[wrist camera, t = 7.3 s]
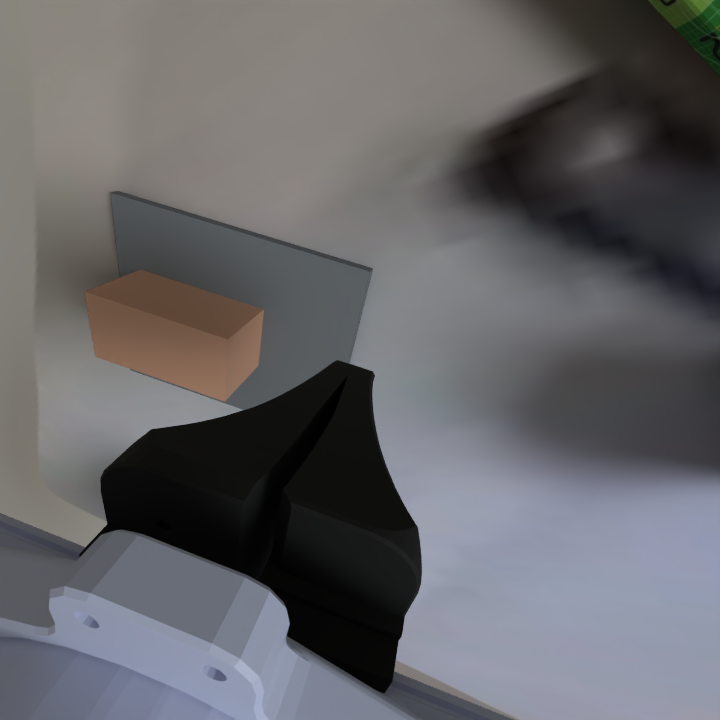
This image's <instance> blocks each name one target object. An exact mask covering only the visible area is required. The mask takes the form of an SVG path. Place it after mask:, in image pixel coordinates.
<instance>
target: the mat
mask: <svg viewBox="0 0 720 720" xmlns="http://www.w3.org/2000/svg"><path fill="white" fill-rule="evenodd" d="M110 194H111V203H112V212H113V221H114V230H115V239H116V248H117V257H118V265H119V274H120V277H123V276H125V275H128V274H130V273H133V272H135V271H138V270H143V271H146V272H150V273H153V274H156V275H159V276H162V277H165V278H168V279H171V280H174V281H177V282H181V283H184V284H187V285H190V286H193V287H196V288H199V289H202V290H205V291H208V292H212V293H215V294H218V295H221V296H224V297H227V298H230V299H233V300H236V301H239V302H243V303H246V304H249V305H252V306H255V307H258V308H261V309H264V314H263V324H262V334H261V345H260V355H259V365H258V367H257V368H256V369H255V370H254V371H253V372H252V373H251V374H250V375H249V376H248V377H247V378H246V380H245V381H244V382H243V383H242V384H241V385H240V386H239V387H238V388H237V389H236V390H235V391H234V392H233V393H232V394H231V396H230V397H229V398H228V399H227V400H226V401H225V402H224V401H221V400H219V399H216V398H213V397H210V396H207V395H204V394H201V393H199V392H196V391H193V390H190V389H187V388H184V387H181V386H179V385H176V384H173V383H170V382H167V381H164V380H161V379H159V378H156V377H153V376H150V375H147V374H144V373H141V372H139V371H136V370H133V369H130V370H132V371H135V372H137V373H140V374H143V375H146V376H149V377H152V378H155V379H157V380H160V381H163V382H166V383H169V384H172V385H175V386H177V387H180V388H183V389H186V390H189V391H192V392H195V393H197V394H200V395H203V396H206V397H209V398H212V399H215V400H217V401H220V402H223V403H226V404H229V405H232V406H235V407H237V408H240V409H243V410H246V409H249V408H252V407H255V406H257V405H260V404H262V403H265V402H267V401H269V400H271V399H273V398H276V397H278V396H280V395H281V394H283V393H285V392H287V391H289V390H291V389H293V388H295V387H296V386H298V385H300V384H301V383H303V382H305V381H306V380H308V379H309V378H311V377H313V376H314V375H316V374H317V373H319V372H320V371H321V370H323V369H324V368H326V367H327V366H328V365H330V364H331V363H332V362H334V361H336V360H339V361H342V362H345V363H350V359H351V355H352V351H353V347H354V343H355V339H356V335H357V331H358V327H359V323H360V319H361V315H362V310H363V306H364V302H365V298H366V294H367V290H368V286H369V282H370V278H371V274H372V270H373V269H372V268H369V267H366V266H362V265H359V264H356V263H353V262H349V261H346V260H343V259H339V258H336V257H333V256H330V255H326V254H323V253H320V252H316V251H313V250H310V249H306V248H303V247H300V246H297V245H293V244H290V243H287V242H283V241H280V240H277V239H274V238H270V237H267V236H264V235H260V234H257V233H254V232H251V231H247V230H244V229H241V228H237V227H234V226H231V225H227V224H224V223H221V222H218V221H214V220H211V219H208V218H204V217H201V216H198V215H195V214H191V213H188V212H185V211H181V210H178V209H175V208H172V207H168V206H165V205H162V204H158V203H155V202H152V201H149V200H145V199H142V198H139V197H135V196H132V195H129V194H125V193H122V192H119V191H118V192H112V193H110Z"/></svg>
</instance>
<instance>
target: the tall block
mask: <svg viewBox="0 0 720 720" xmlns="http://www.w3.org/2000/svg"><path fill="white" fill-rule="evenodd" d="M85 298H86V304H87V310H88V316H89V322H90V328H91V334H92V340H93V346H94V352H95V356H96V357H99V358H101V359H104V360H107V361H110V362H113V363H116V364H119V365H121V366H124V367H127V368H130V369H133V370H136V371H139V372H141V373H144V374H147V375H150V376H153V377H156V378H159V379H161V380H164V381H167V382H170V383H173V384H176V385H179V386H181V387H184V388H187V389H190V390H193V391H196V392H199V393H201V394H204V395H207V396H210V397H213V398H216V399H219V400H221V401H224V402H225V401H226V400H227V399H228V398H229V397H230V396H231V394H232V393H233V392H234V391H235V390H236V389H237V388H238V387H239V386H240V385H241V384H242V383H243V382H244V381H245V380H246V378H247V377H248V376H249V375H250V374H251V373H252V372H253V371H254V370H255V369H256V368H257V367H258V365H259V355H260V345H261V334H262V324H263V314H264V309H261V308H258V307H255V306H252V305H249V304H246V303H243V302H239V301H236V300H233V299H230V298H227V297H224V296H221V295H218V294H215V293H212V292H208V291H205V290H202V289H199V288H196V287H193V286H190V285H187V284H184V283H181V282H177V281H174V280H171V279H168V278H165V277H162V276H159V275H156V274H153V273H150V272H146V271H143V270H138V271H135V272H133V273H130V274H128V275H125V276H123V277H120V278H118V279H115V280H113V281H110V282H108V283H105V284H103V285H100V286H97V287H95V288H92V289H90V290H87V291H85Z"/></svg>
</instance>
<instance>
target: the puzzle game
mask: <svg viewBox="0 0 720 720" xmlns="http://www.w3.org/2000/svg"><path fill="white" fill-rule="evenodd" d="M648 1H649V2H650V3H651V4H652V5H653V6H654V7H655V8H656V10H657V11H658V12H659V13H660V14H661V15H662V16H663V17H664V18H665V19H666V20H667V21H668V22H669V23H670V24H671V25H672V26H673V27H674V29H675V30H676V31H677V32H678V33H679V34H680V35H681V36H682V37H683V38H684V39H685V40H686V41H687V42H688V43H689V44H690V45H691V46H692V47H693V49H694V50H695V51H696V52H697V53H698V54H699V55H700V56H701V57H702V58H703V59H704V60H705V61H706V62H707V63H708V64H709V65H710V66H711V67H712V69H713V70H714V71H715V72H716V73H717V74H718V75H719V76H720V0H648Z"/></svg>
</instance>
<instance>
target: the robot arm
mask: <svg viewBox="0 0 720 720" xmlns="http://www.w3.org/2000/svg"><path fill="white" fill-rule="evenodd" d="M374 377H375V375H374V373H373V371H370V370H367V369H364V368H361V367H358V366H355V365H352V364H349V363H345V362H342V361H339V360H336V361H334V362H332V363H331V364H330V365H328V366H327V367H326V368H324V369H323V370H321V371H320V372H319V373H317V374H316V375H314V376H313V377H311V378H309V379H308V380H306V381H305V382H303V383H301V384H300V385H298V386H296V387H295V388H293V389H291V390H289V391H287V392H285V393H283V394H281V395H280V396H278V397H276V398H273V399H271V400H269V401H267V402H265V403H262V404H260V405H257V406H255V407H252V408H249V409H246V410H243V411H240V412H237V413H233V414H230V415H227V416H223V417H219V418H215V419H211V420H207V421H202V422H197V423H192V424H186V425H179V426H172V427H165V428H158V429H151V430H150V431H149V432H148V433H146V434H145V435H144V436H142V437H141V438H140V439H138V440H137V441H136V442H135V443H134V444H133V445H131V446H130V447H129V448H128V449H127V450H126V451H125V452H124V453H123V454H121V455H120V456H119V457H118V458H117V459H116V460H115V461H114V462H113V463H112V464H111V465H109V466H108V467H107V468H106V469H105V470H104V472H103V474H102V476H101V494H102V499H103V504H104V509H105V514H106V519H107V525H106V527H104V528H103V530H102V531H101V532H100V533H99V534H98V535H97V536H96V537H95V538H94V539H93V540H92V541H91V542H90V543H89V544H88V545H87V547H83V546H81V545H78V544H76V543H73V542H70V541H68V540H66V539H63V538H61V537H58V536H56V535H53V534H51V533H48V532H46V531H43V530H41V529H38V528H36V527H33V526H31V525H28V524H26V523H23V522H21V521H18V520H16V519H14V518H11V517H8V516H6V515H3V514H1V513H0V720H514V719H511V718H508V717H506V716H504V715H501V714H499V713H496V712H493V711H491V710H489V709H486V708H484V707H481V706H479V705H476V704H474V703H471V702H469V701H466V700H464V699H461V698H459V697H456V696H454V695H451V694H449V693H446V692H444V691H441V690H439V689H436V688H434V687H431V686H429V685H426V684H424V683H422V682H419V681H417V680H414V679H411V678H409V677H406V676H404V675H402V674H399V673H397V672H394V668H395V661H396V654H397V647H398V640H399V639H400V638H401V635H402V631H403V624H404V617H405V614H406V613H407V611H408V609H409V608H410V606H411V604H412V602H413V601H414V599H415V597H416V595H417V594H418V591H419V588H420V585H421V576H422V563H421V548H420V540H419V532H418V527H417V526H416V524H415V522H414V521H413V519H412V517H411V516H410V514H409V513H408V511H407V509H406V507H405V506H404V504H403V502H402V500H401V498H400V496H399V494H398V492H397V490H396V488H395V486H394V483H393V481H392V478H391V476H390V474H389V471H388V469H387V467H386V464H385V461H384V458H383V455H382V452H381V448H380V445H379V441H378V437H377V432H376V427H375V421H374V414H373V402H372V387H373V380H374Z"/></svg>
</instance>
